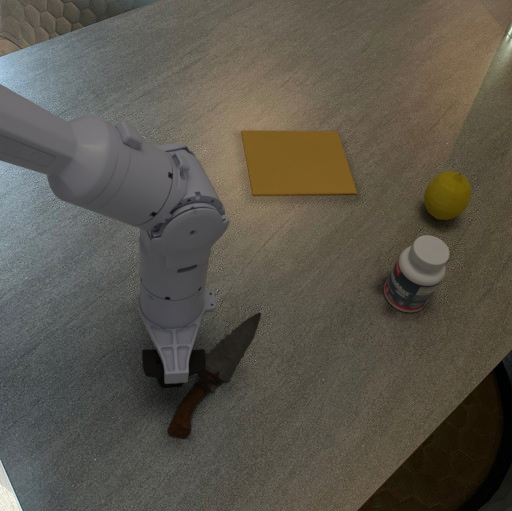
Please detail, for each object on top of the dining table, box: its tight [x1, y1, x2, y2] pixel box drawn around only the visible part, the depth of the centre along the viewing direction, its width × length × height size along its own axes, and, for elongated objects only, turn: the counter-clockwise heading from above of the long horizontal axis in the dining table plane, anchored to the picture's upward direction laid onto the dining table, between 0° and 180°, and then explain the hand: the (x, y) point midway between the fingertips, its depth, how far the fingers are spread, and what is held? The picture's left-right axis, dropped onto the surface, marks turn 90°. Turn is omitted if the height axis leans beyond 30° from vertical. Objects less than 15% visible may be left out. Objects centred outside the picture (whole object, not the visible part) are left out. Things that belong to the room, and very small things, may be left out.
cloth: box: [240, 130, 358, 197], centre depth 85 cm, size 14×12×1 cm
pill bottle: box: [383, 234, 451, 313], centre depth 70 cm, size 5×5×9 cm
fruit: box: [423, 170, 472, 221], centre depth 79 cm, size 6×6×8 cm
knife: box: [167, 312, 262, 439], centre depth 64 cm, size 17×2×5 cm
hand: (169, 350), depth 64 cm, fingers open, 7 cm apart
